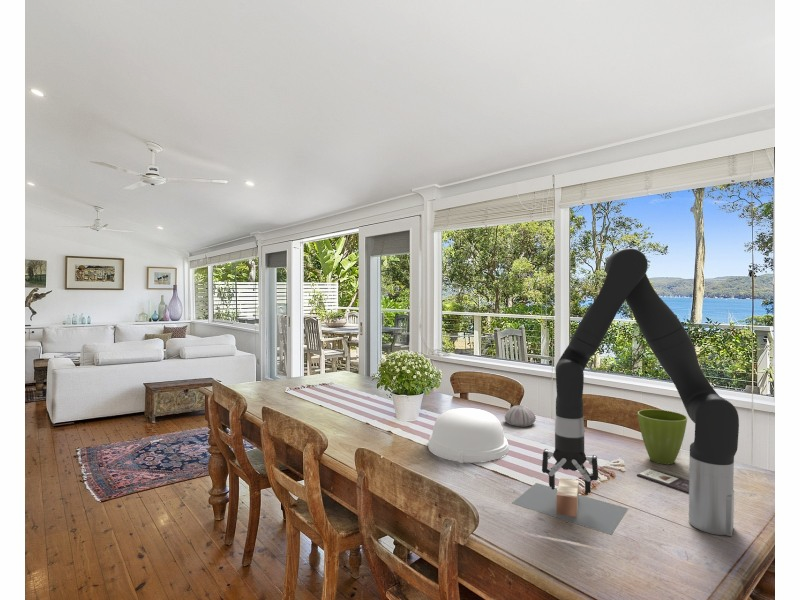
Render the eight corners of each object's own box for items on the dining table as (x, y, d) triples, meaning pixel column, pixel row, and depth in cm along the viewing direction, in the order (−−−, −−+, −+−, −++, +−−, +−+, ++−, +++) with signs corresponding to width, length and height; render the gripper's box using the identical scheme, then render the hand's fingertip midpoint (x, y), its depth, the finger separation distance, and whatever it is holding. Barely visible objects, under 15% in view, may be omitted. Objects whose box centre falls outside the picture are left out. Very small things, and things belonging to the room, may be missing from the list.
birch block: (578, 480, 131) (576, 498, 120) (578, 497, 131) (576, 517, 120) (560, 477, 133) (556, 494, 122) (560, 494, 133) (556, 513, 122)
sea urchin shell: (524, 430, 194) (524, 411, 194) (498, 423, 204) (498, 405, 204) (541, 424, 203) (541, 406, 203) (515, 417, 213) (515, 400, 213)
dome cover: (437, 431, 193) (437, 398, 193) (510, 438, 185) (511, 403, 184) (419, 459, 162) (419, 419, 162) (505, 468, 154) (505, 426, 154)
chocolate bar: (698, 495, 132) (636, 474, 147) (698, 498, 132) (636, 477, 147) (712, 487, 137) (651, 468, 152) (712, 490, 137) (651, 471, 152)
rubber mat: (628, 510, 124) (628, 508, 124) (611, 536, 111) (611, 534, 111) (536, 484, 141) (536, 482, 141) (511, 504, 128) (511, 503, 128)
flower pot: (631, 460, 160) (632, 415, 159) (644, 449, 171) (644, 406, 170) (680, 472, 149) (681, 423, 149) (690, 459, 160) (691, 414, 160)
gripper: (540, 433, 125) (540, 492, 125) (597, 439, 119) (597, 501, 119) (543, 425, 131) (544, 481, 132) (598, 431, 126) (598, 489, 126)
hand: (569, 491), depth 125 cm, fingers open, 8 cm apart
